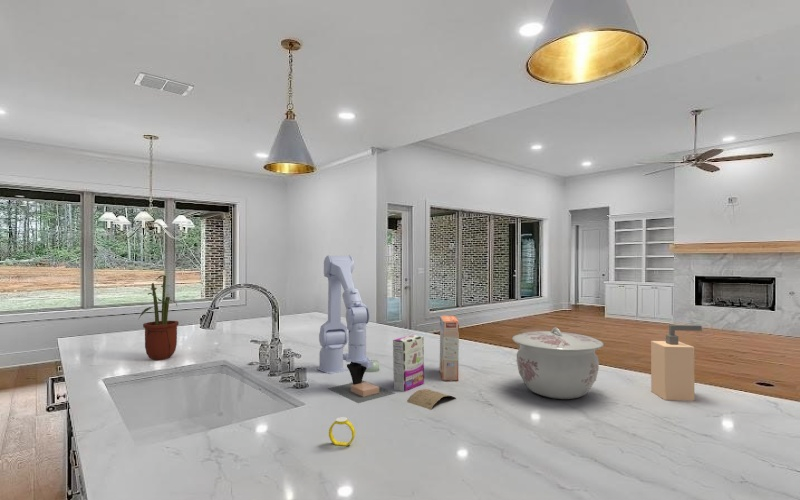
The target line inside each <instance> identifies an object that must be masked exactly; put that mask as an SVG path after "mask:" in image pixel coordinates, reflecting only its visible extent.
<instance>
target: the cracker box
mask: <svg viewBox="0 0 800 500" xmlns="http://www.w3.org/2000/svg"><path fill="white" fill-rule="evenodd" d="M459 335H460V321H459V320H458V319H457V317H456V316H455V315H440V316H439V372H440V377H441V379H442V381H447V382H449V381H450V382H459V367H460V366H459V363H460V361H459V359H460V358H459V353H460V352H459V350H460V348H459V347H460V344H459V343H460V337H459Z"/></svg>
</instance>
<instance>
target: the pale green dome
mask: <svg viewBox="0 0 800 500" xmlns="http://www.w3.org/2000/svg"><path fill="white" fill-rule="evenodd" d="M370 360H371V361H373V368H367V369H366V371H365V373H377V372H379V371H380V361H379V360H378V359H370Z"/></svg>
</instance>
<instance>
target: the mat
mask: <svg viewBox="0 0 800 500" xmlns="http://www.w3.org/2000/svg"><path fill="white" fill-rule="evenodd" d="M364 382H367V381H366V380H363V379H362V383H364ZM369 383H370V384H372V383H371V382H369ZM351 385H353V382H349V383H344V384H342V385H341V384H340V385H335V386H332V387H326V388H327V390H329V391H332V392H334V393H336V394H339V396H340V395H341V396H342V397H344V398H347V399H349V400H351V401H353V402H355V403H357V404H360V403H364V402H369V401H372V400H376V399H379V398H385V397H387V396H392V395H395V394H396V393H395V392H393V391H392V390H388V389H386V388H383V387H381V386H378V387H379V393H377V394H373V395H369V396H365V397H363V396H360V395H358V394H356V393H354V392H351ZM374 385H375V384H374ZM375 386H377V385H375Z"/></svg>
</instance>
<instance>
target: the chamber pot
mask: <svg viewBox="0 0 800 500" xmlns="http://www.w3.org/2000/svg"><path fill="white" fill-rule="evenodd" d="M511 340H512V341H513V342H514V343H516V345H517V344H518V345H519V349H518V350H517V352H516V364H517V370H518V374H519V375H520V377H521V379H522V381H523V382H524V384H525V386H526V387H527V388H528V389H529V390H530V391H531V392H532V393H535V394H537V395H539V396H543V397H545V398H549V399H553V400H572V399H578V398H581V397H584V396H585V395H586V394H587V393H589V391H590V390H591V389H592V387H593V385H594V384H595V383H596V381H597V379H598V378H597V377H598V373H599V369H600V368H599V357H598V355H597V353H596V350H599V349H601V348H602V347H604V345H605V344H604V342H603V341H602V340H599V339H598V338H593V337H592V336H588V335H585V334H584V335H583V334H579V333H574V332H573V333H572V332H566V331H561V330H560V329H559V328H558V327H553V328H552V329H551V331H549V330H543V331H542V330H540V331H529V332H523V333H518V334H516V335H513V336H512V338H511Z"/></svg>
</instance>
